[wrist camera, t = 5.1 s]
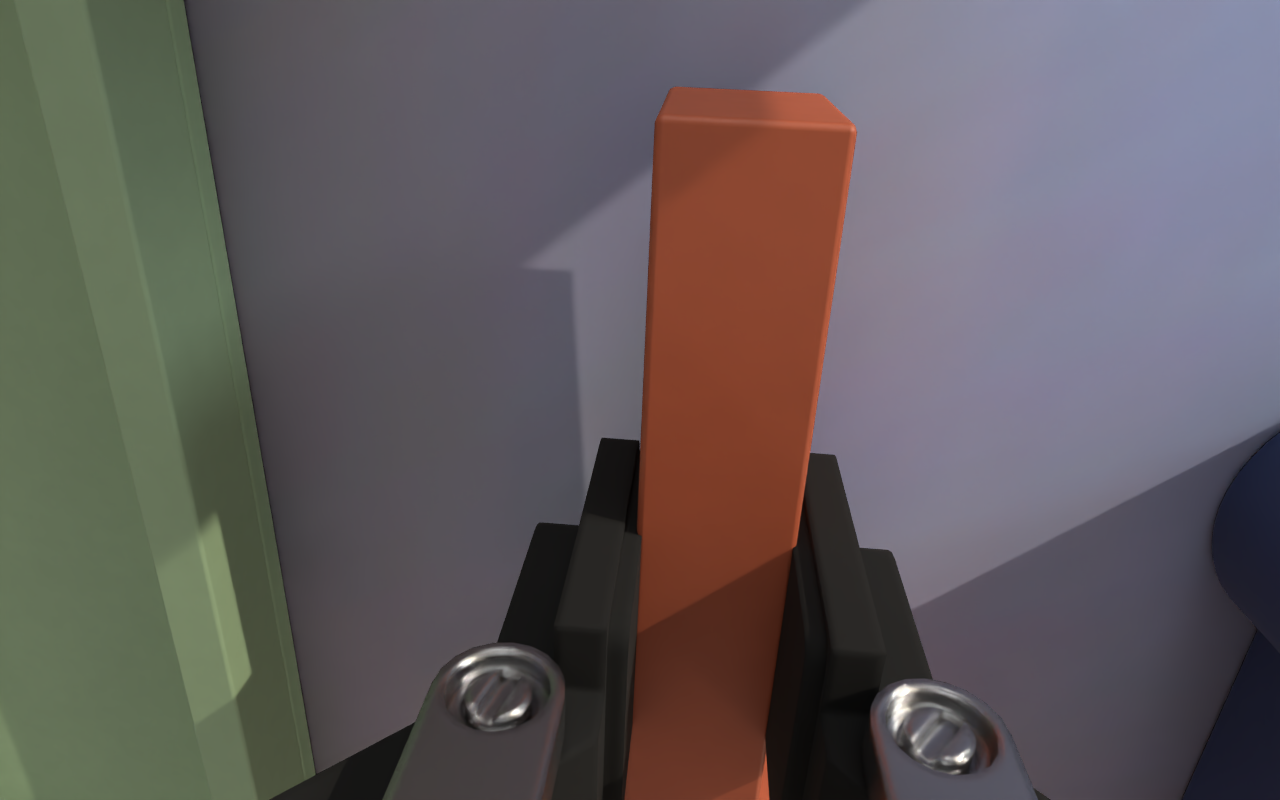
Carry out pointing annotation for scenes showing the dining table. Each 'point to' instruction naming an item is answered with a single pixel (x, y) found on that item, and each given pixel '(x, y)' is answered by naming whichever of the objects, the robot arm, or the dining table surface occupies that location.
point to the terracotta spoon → (728, 420)
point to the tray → (128, 434)
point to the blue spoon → (1276, 661)
